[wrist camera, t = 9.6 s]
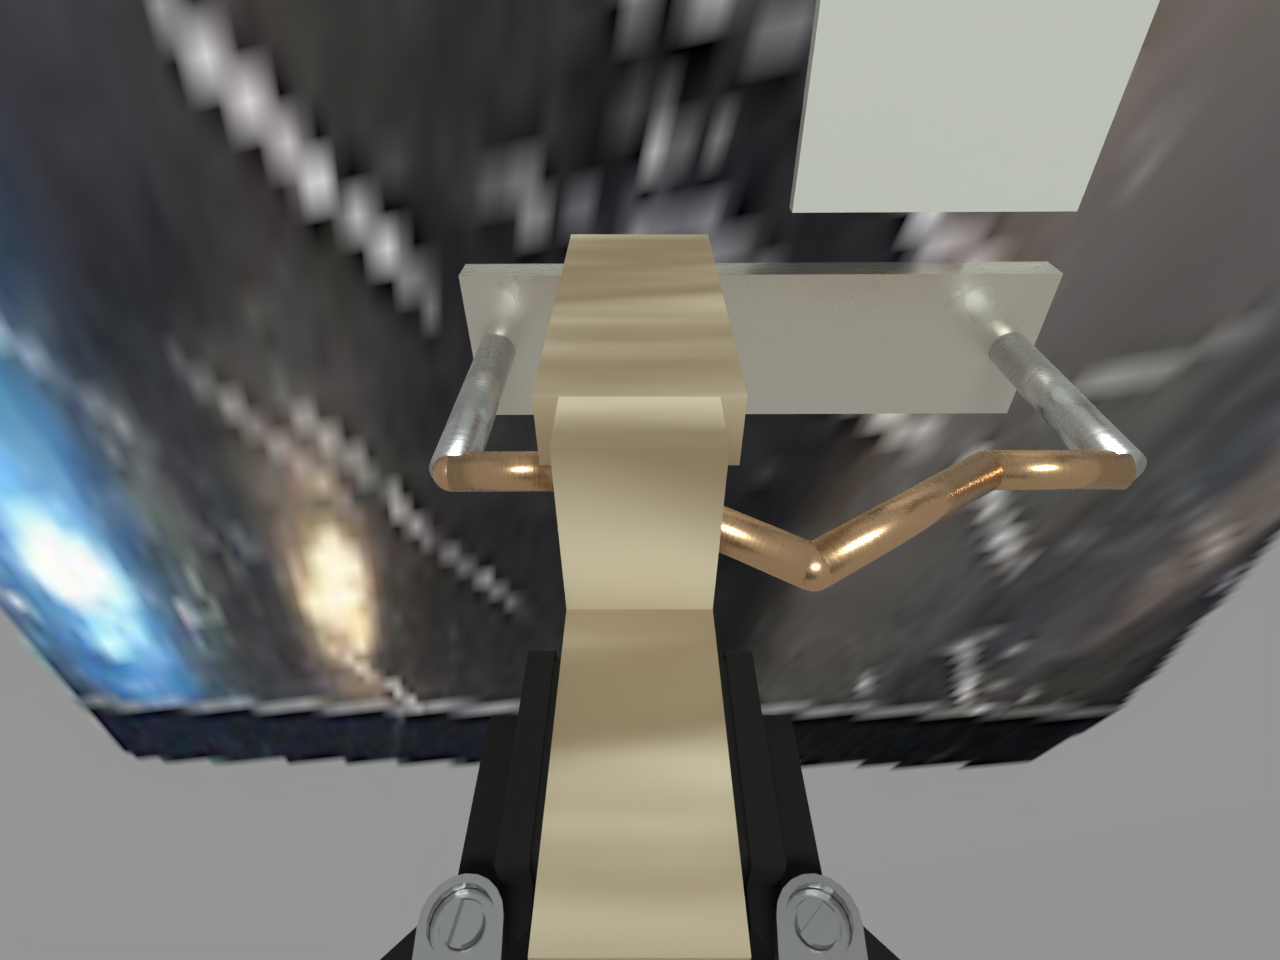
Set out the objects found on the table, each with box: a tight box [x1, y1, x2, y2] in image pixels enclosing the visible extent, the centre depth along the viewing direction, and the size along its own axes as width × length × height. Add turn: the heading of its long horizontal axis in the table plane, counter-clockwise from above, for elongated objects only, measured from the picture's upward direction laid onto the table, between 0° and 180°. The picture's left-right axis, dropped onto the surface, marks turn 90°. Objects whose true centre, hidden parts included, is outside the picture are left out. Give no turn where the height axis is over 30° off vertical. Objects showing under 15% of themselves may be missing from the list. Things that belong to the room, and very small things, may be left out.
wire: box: [429, 262, 1147, 592], centre depth 21 cm, size 6×22×14 cm, turn 90°
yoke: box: [528, 234, 751, 960], centre depth 16 cm, size 11×4×17 cm, turn 0°
